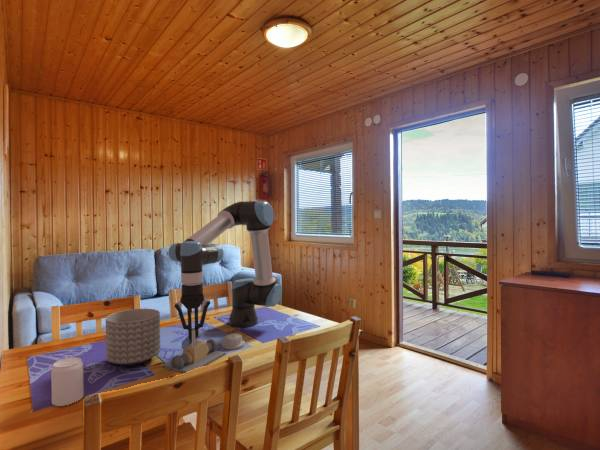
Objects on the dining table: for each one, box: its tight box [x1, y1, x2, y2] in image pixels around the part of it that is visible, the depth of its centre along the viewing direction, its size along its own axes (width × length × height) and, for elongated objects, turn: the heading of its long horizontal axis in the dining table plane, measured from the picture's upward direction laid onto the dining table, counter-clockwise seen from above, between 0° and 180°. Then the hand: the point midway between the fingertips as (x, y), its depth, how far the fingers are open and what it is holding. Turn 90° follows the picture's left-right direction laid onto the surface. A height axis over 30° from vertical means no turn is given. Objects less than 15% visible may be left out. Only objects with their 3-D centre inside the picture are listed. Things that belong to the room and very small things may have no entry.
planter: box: [105, 308, 161, 366], centre depth 136 cm, size 19×19×18 cm
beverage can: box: [50, 356, 84, 407], centre depth 107 cm, size 8×8×12 cm
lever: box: [181, 329, 200, 350], centre depth 131 cm, size 14×3×2 cm, turn 178°
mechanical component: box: [221, 332, 246, 351], centre depth 153 cm, size 10×4×10 cm
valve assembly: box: [161, 338, 227, 374], centre depth 137 cm, size 20×14×9 cm
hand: (193, 346), depth 129 cm, fingers closed
